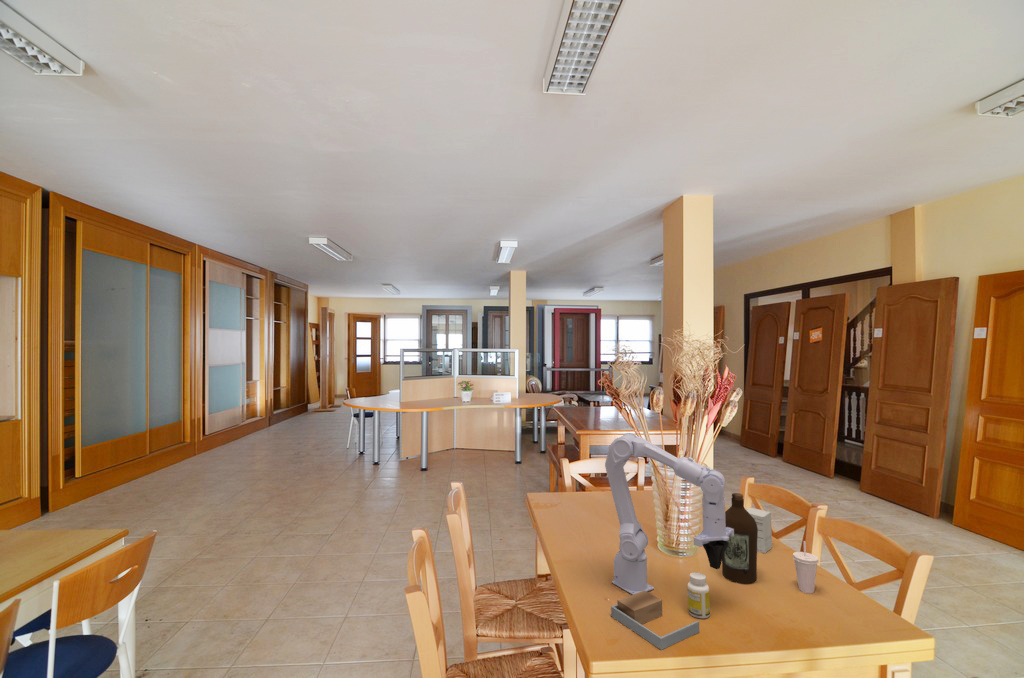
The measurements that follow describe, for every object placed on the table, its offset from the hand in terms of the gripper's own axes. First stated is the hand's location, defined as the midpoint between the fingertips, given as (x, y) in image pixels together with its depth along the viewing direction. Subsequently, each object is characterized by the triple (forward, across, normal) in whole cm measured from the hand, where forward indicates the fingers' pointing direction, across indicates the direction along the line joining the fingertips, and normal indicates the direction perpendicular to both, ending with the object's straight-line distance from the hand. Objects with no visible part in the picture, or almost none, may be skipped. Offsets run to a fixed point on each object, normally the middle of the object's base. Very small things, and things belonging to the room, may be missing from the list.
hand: (715, 567), depth 127 cm
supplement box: (+10, +47, +17) cm, 51 cm away
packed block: (+10, -21, +7) cm, 24 cm away
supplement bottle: (+10, -7, 0) cm, 13 cm away
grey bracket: (+10, -21, +3) cm, 24 cm away
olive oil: (+10, +21, +7) cm, 24 cm away
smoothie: (+10, +30, -8) cm, 33 cm away
